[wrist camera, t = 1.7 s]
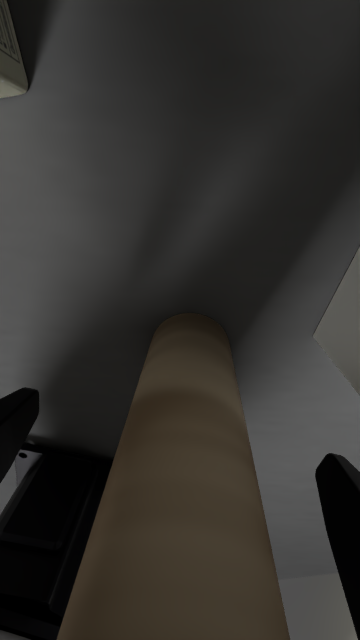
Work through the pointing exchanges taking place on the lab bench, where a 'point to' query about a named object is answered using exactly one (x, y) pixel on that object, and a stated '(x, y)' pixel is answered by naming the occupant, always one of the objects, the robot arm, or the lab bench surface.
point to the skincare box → (10, 57)
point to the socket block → (344, 326)
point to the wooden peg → (180, 509)
